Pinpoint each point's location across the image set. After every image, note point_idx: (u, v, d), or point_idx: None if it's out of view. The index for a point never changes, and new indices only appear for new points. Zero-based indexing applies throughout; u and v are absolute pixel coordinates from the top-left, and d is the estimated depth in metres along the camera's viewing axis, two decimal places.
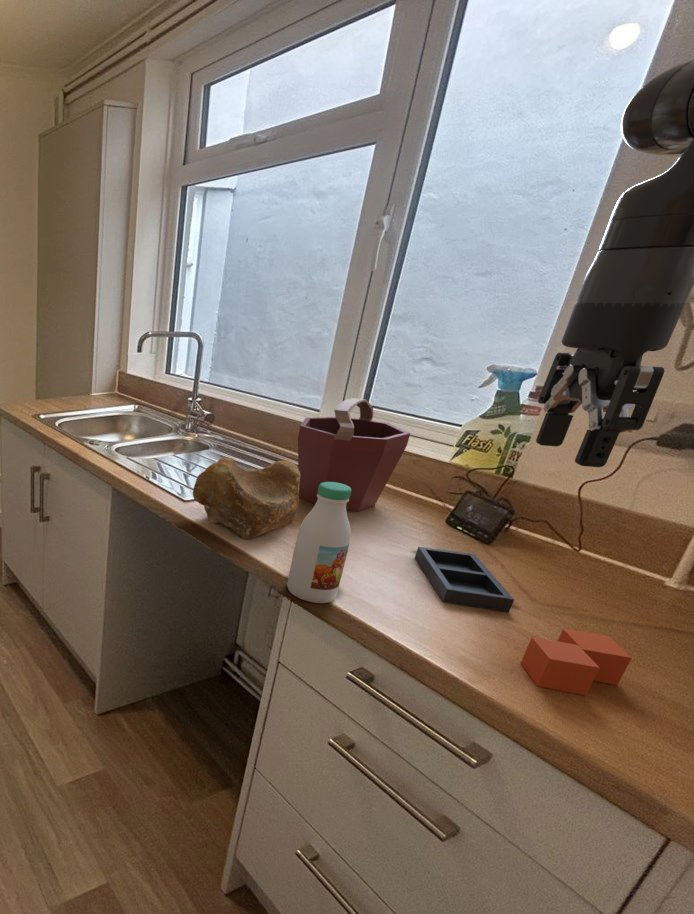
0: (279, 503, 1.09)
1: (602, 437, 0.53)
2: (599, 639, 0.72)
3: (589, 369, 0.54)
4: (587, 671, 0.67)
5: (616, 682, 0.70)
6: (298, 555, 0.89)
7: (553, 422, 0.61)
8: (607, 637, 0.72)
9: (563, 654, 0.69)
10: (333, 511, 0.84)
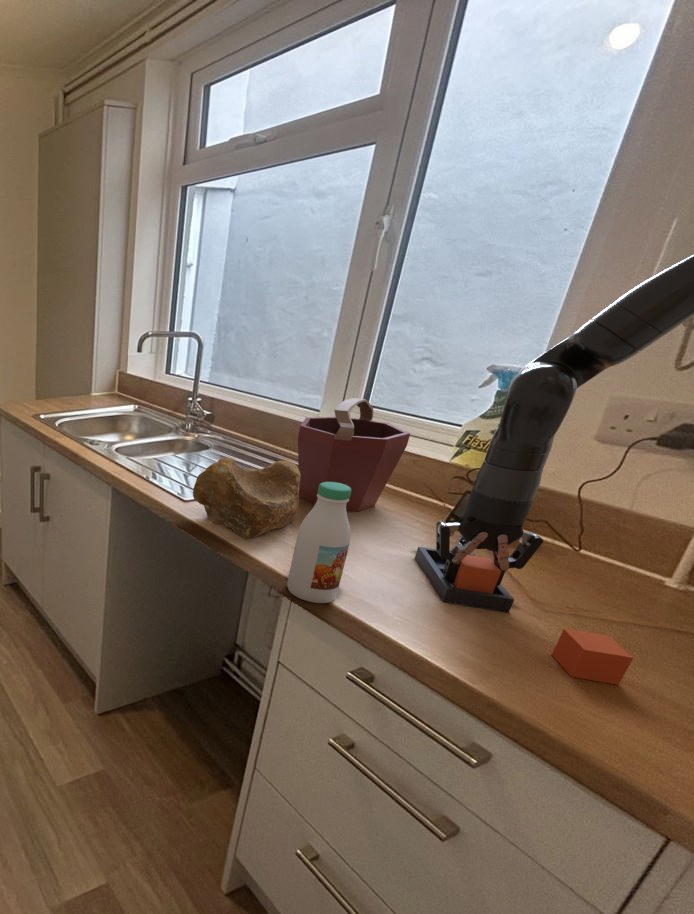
0: (279, 503, 1.09)
1: (448, 562, 0.91)
2: (600, 639, 0.72)
3: None
4: (492, 574, 0.86)
5: (617, 682, 0.70)
6: (298, 555, 0.89)
7: None
8: (607, 637, 0.72)
9: (475, 563, 0.88)
10: (333, 511, 0.84)
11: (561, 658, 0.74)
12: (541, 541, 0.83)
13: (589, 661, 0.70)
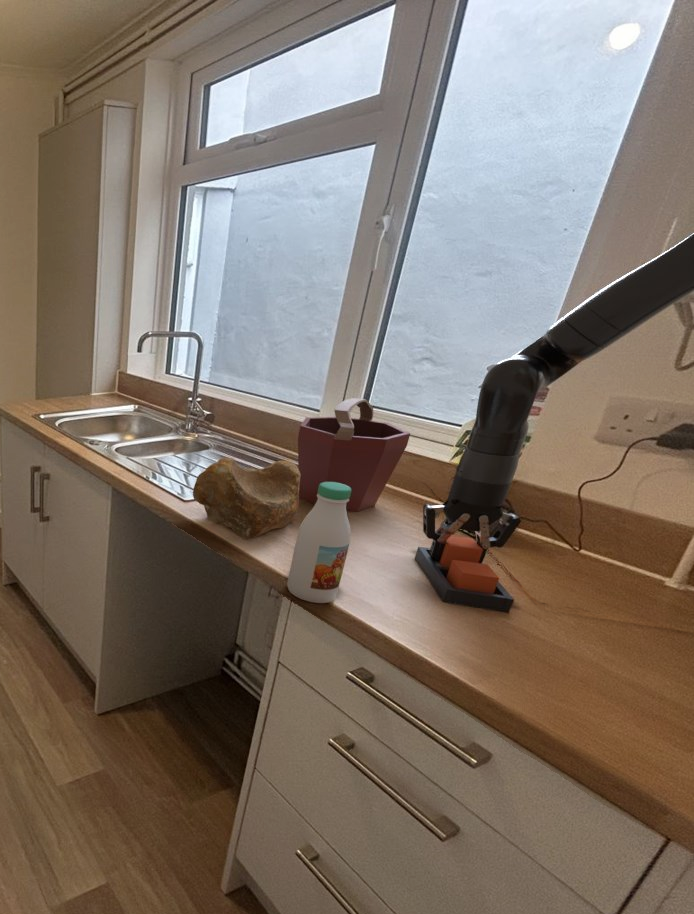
0: (279, 503, 1.09)
1: (434, 542, 0.98)
2: (464, 540, 0.96)
3: None
4: (490, 581, 0.87)
5: None
6: (298, 555, 0.89)
7: None
8: (470, 538, 0.97)
9: (473, 569, 0.89)
10: (333, 511, 0.84)
11: None
12: (519, 521, 0.90)
13: (453, 554, 0.95)
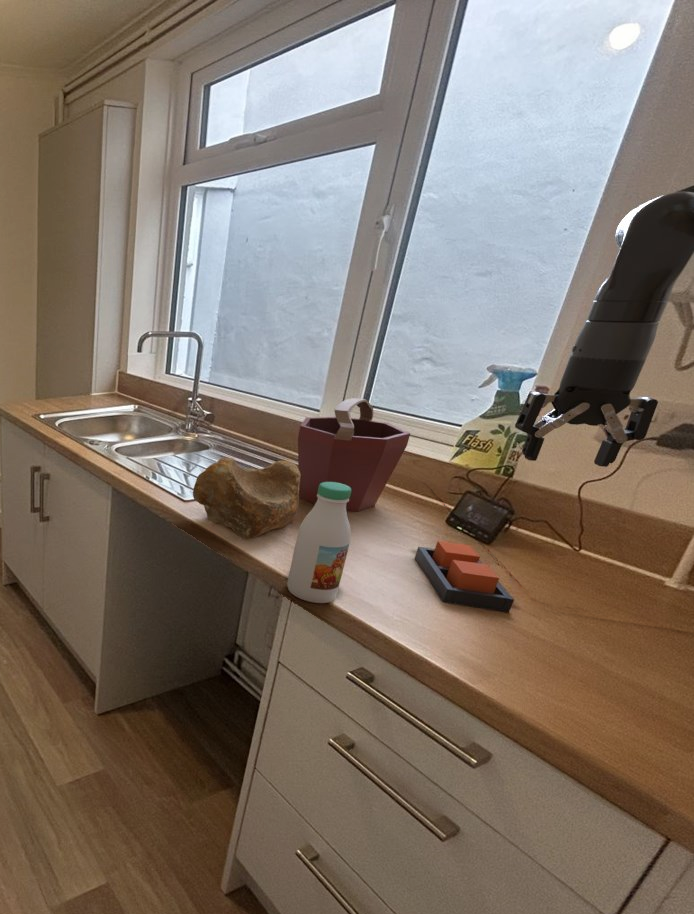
0: (279, 503, 1.09)
1: (529, 438, 0.82)
2: (462, 546, 0.97)
3: None
4: (490, 581, 0.87)
5: None
6: (298, 555, 0.89)
7: (603, 446, 0.79)
8: (468, 545, 0.97)
9: (473, 569, 0.89)
10: (333, 511, 0.84)
11: (435, 562, 0.99)
12: (655, 402, 0.74)
13: (450, 560, 0.95)
